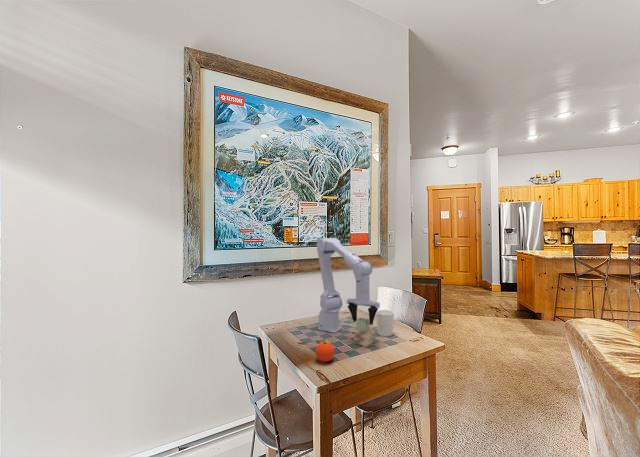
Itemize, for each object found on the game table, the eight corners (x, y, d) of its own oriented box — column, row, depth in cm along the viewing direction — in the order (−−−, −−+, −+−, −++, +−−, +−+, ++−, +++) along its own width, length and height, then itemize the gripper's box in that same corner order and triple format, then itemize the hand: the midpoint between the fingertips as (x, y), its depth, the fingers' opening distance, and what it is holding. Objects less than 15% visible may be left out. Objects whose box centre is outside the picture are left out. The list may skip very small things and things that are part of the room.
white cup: (394, 337, 130) (394, 315, 130) (376, 336, 132) (376, 314, 132) (393, 331, 138) (393, 310, 138) (376, 330, 140) (376, 309, 140)
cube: (356, 329, 124) (356, 320, 124) (360, 327, 127) (360, 317, 127) (365, 331, 122) (365, 321, 122) (369, 328, 125) (369, 319, 125)
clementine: (325, 354, 113) (325, 335, 113) (340, 359, 109) (339, 340, 109) (311, 361, 107) (311, 342, 107) (326, 367, 103) (326, 346, 103)
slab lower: (353, 344, 124) (353, 336, 124) (360, 339, 129) (360, 332, 129) (366, 347, 120) (366, 339, 120) (373, 342, 125) (372, 335, 125)
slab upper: (354, 337, 123) (354, 330, 123) (358, 333, 128) (358, 326, 128) (369, 339, 121) (368, 332, 121) (372, 334, 126) (371, 327, 126)
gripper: (343, 290, 126) (343, 322, 125) (374, 294, 118) (375, 328, 117) (350, 287, 131) (351, 318, 131) (381, 291, 123) (381, 323, 123)
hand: (362, 322), depth 125 cm, fingers open, 7 cm apart
